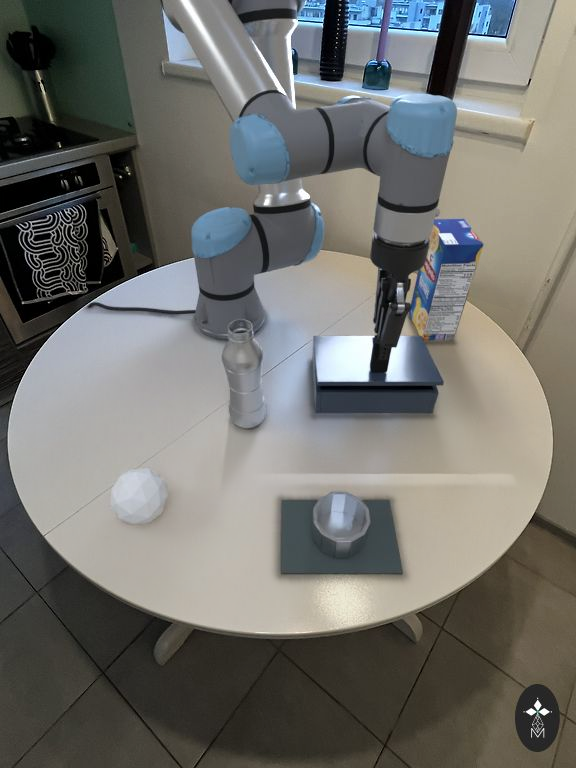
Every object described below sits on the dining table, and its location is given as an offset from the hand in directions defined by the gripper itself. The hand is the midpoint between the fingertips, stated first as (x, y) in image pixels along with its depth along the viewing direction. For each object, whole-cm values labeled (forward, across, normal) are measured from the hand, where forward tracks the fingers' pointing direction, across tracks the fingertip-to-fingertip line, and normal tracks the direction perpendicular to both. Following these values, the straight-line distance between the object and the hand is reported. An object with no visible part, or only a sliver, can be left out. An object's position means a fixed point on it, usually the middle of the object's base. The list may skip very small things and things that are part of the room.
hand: (378, 369), depth 76 cm
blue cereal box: (+9, +24, -16) cm, 30 cm away
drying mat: (+9, -25, +8) cm, 28 cm away
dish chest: (+9, +5, 0) cm, 10 cm away
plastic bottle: (+9, -3, +22) cm, 24 cm away
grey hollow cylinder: (+8, -25, +8) cm, 28 cm away
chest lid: (+2, +4, 0) cm, 5 cm away
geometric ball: (+9, -21, +36) cm, 43 cm away
